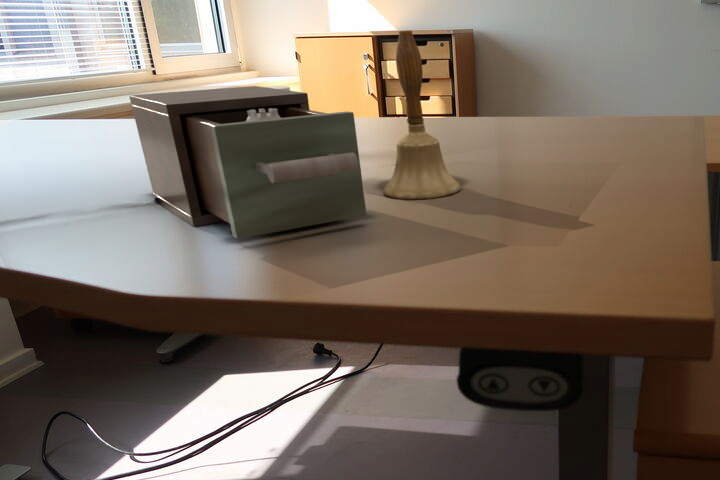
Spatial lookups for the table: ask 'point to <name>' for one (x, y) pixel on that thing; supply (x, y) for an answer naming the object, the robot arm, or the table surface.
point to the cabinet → (168, 144)
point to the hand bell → (416, 137)
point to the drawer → (275, 168)
